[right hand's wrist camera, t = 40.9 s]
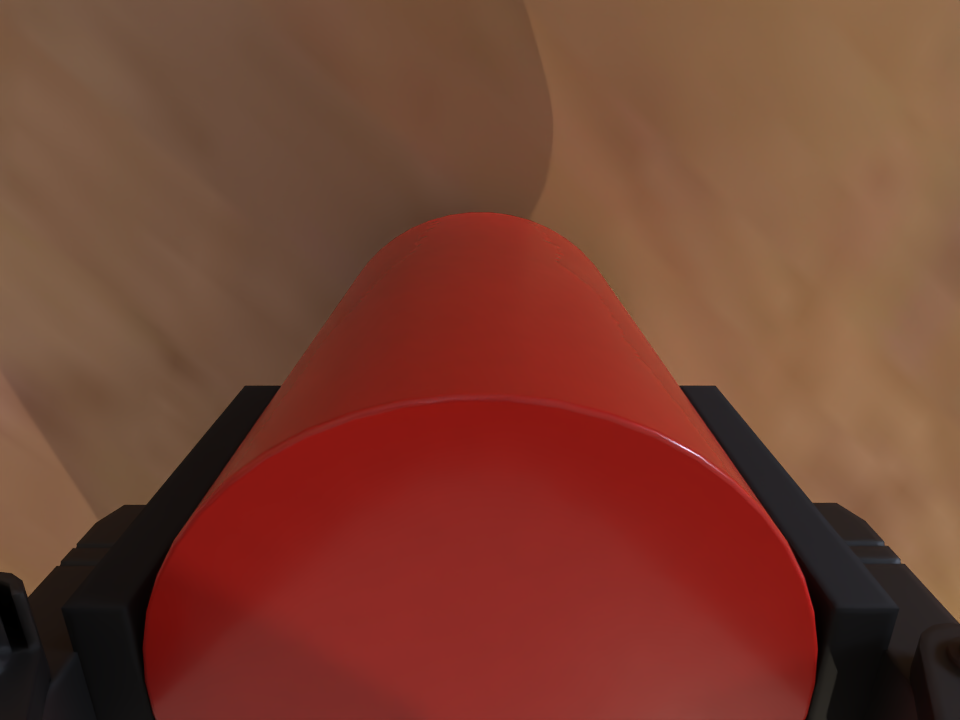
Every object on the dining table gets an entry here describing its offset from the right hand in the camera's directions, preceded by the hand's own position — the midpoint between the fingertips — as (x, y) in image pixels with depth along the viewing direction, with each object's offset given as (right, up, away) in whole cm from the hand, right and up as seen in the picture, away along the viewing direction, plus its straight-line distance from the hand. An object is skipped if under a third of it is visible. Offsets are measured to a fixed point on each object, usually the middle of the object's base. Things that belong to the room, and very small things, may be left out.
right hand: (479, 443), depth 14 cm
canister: (0, +2, +5) cm, 5 cm away
